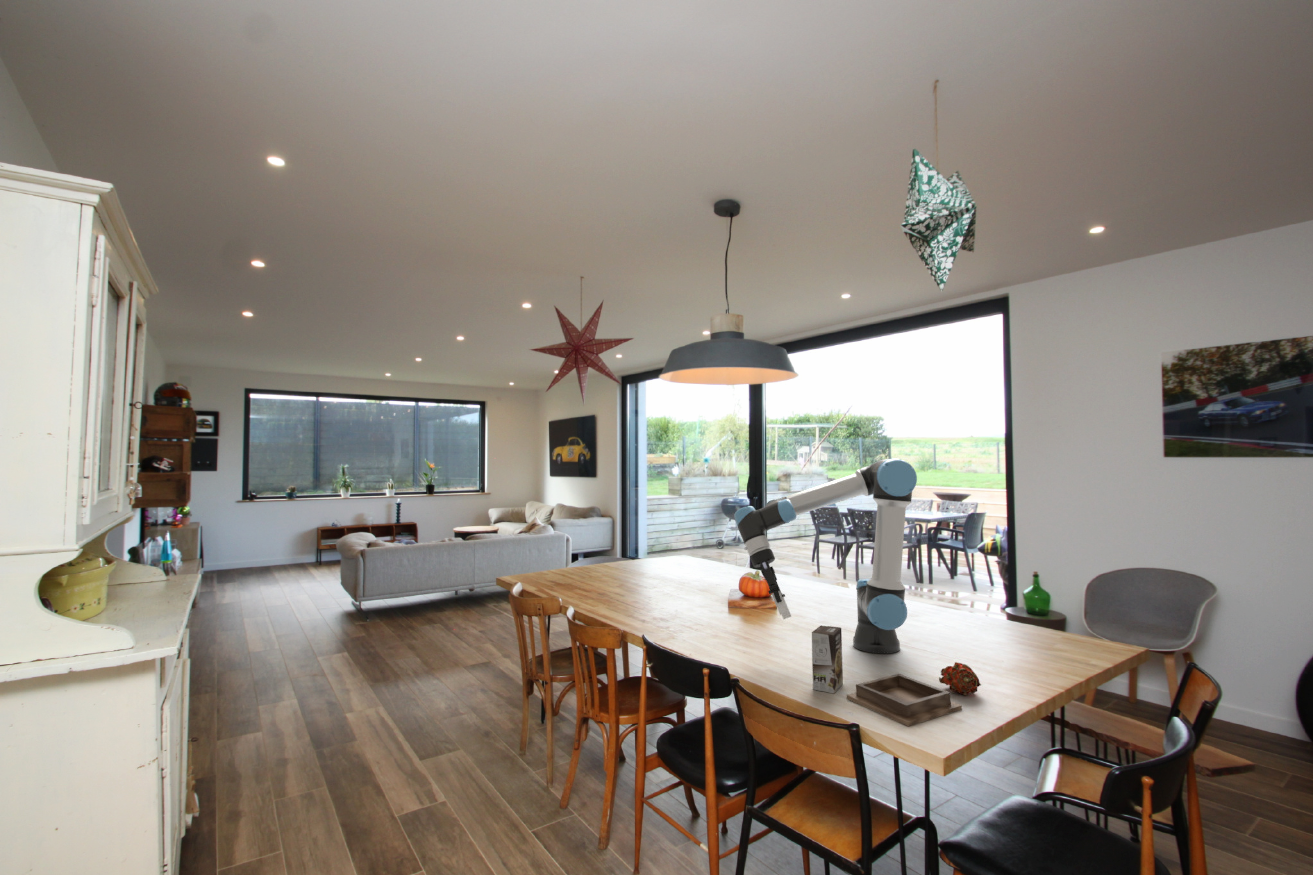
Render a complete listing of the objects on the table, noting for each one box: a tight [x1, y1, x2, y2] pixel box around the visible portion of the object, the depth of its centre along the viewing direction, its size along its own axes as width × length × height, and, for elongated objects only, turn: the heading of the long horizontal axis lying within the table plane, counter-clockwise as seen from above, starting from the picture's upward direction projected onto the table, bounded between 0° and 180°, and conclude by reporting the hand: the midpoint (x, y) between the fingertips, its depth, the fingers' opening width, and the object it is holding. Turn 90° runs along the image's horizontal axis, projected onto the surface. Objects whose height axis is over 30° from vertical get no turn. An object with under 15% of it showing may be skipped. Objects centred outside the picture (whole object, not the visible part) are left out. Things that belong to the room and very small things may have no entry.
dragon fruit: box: [938, 661, 982, 696], centre depth 168 cm, size 8×8×12 cm
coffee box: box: [811, 625, 844, 694], centre depth 174 cm, size 9×6×16 cm
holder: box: [845, 673, 963, 727], centre depth 160 cm, size 20×20×4 cm
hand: (785, 615), depth 190 cm, fingers open, 13 cm apart
